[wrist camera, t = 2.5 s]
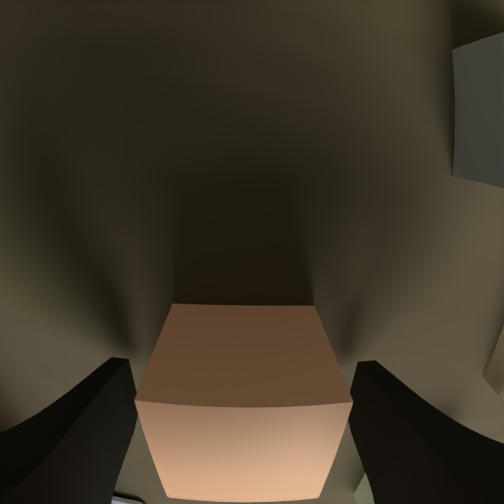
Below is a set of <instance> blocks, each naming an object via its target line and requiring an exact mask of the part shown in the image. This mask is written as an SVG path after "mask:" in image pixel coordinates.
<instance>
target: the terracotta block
mask: <svg viewBox="0 0 504 504" xmlns="http://www.w3.org/2000/svg"><path fill="white" fill-rule="evenodd" d="M134 401H135V405H136V408H137V411H138V415H139V418H140V421H141V425H142V428H143V431H144V434H145V437H146V440H147V443H148V446H149V449H150V452H151V455H152V458H153V461H154V463H155V466H156V469H157V471H158V474H159V477H160V479H161V482H162V484H163V487H164V489H165V492H166V494H167V497H171V498H180V499H190V500H202V501H219V502H273V501H290V500H303V499H313V498H318V497H319V495H320V493H321V490H322V488H323V485H324V483H325V481H326V478H327V476H328V473H329V471H330V468H331V465H332V463H333V460H334V458H335V455H336V452H337V449H338V447H339V444H340V441H341V438H342V435H343V432H344V429H345V426H346V423H347V420H348V417H349V414H350V411H351V408H352V405H353V400H352V397H351V395H350V392H349V390H348V387H347V384H346V382H345V379H344V377H343V374H342V372H341V369H340V367H339V364H338V362H337V359H336V357H335V354H334V352H333V350H332V347H331V345H330V342H329V340H328V337H327V335H326V332H325V330H324V328H323V325H322V323H321V320H320V318H319V316H318V313H317V311H316V308H315V306H243V305H199V304H172V307H171V309H170V312H169V314H168V316H167V319H166V321H165V324H164V326H163V328H162V331H161V333H160V336H159V338H158V341H157V343H156V346H155V348H154V351H153V353H152V356H151V358H150V361H149V363H148V366H147V368H146V371H145V373H144V376H143V379H142V381H141V384H140V386H139V389H138V392H137V394H136V397H135V400H134Z"/></svg>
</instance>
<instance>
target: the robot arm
mask: <svg viewBox="0 0 504 504" xmlns="http://www.w3.org/2000/svg"><path fill="white" fill-rule="evenodd" d="M136 394H137V392H136V388H135V384H134V380H133V376H132V372H131V367H130V363H129V359H123V358H114V357H111V358H110V359H108V360H107V361H106V362H104V363H103V364H102V365H101V366H100V367H98V368H97V369H96V370H95V371H93V372H92V373H91V374H90V375H89V376H87V377H86V378H85V379H84V380H82V381H81V382H80V383H79V384H77V385H76V386H75V387H74V388H72V389H71V390H70V391H69V392H67V393H66V394H65V395H63V396H62V397H60V398H59V399H58V400H56V401H55V402H54V403H52V404H51V405H49V406H48V407H47V408H45V409H44V410H42V411H41V412H39V413H37V414H36V415H34V416H33V417H31V418H29V419H27V420H25V421H24V422H22V423H20V424H18V425H16V426H14V427H12V428H10V429H8V430H5V431H3V432H1V433H0V504H143V503H142V502H139V501H135V500H130V499H125V498H120V497H116V496H113V492H114V488H115V485H116V481H117V478H118V476H119V473H120V470H121V467H122V464H123V461H124V458H125V455H126V453H127V450H128V447H129V444H130V441H131V438H132V436H133V433H134V429H135V425H136V420H137V416H138V411H137V408H136V405H135V401H134V400H135V397H136ZM350 395H351V397H352V400H353V405H352V408H351V411H350V414H349V417H348V421H349V425H350V430H351V433H352V436H353V439H354V442H355V445H356V448H357V451H358V453H359V456H360V459H361V462H362V464H363V467H364V470H365V473H366V476H367V478H368V481H369V484H370V488H371V491H372V495H373V500H374V504H504V444H503V443H500V442H497V441H495V440H493V439H490V438H488V437H486V436H483V435H481V434H479V433H477V432H475V431H473V430H471V429H469V428H467V427H465V426H463V425H462V424H460V423H458V422H456V421H454V420H453V419H451V418H450V417H448V416H446V415H445V414H443V413H442V412H441V411H439V410H438V409H436V408H435V407H433V406H432V405H430V404H429V403H428V402H426V401H425V400H424V399H422V398H421V397H420V396H418V395H417V394H416V393H415V392H413V391H412V390H411V389H410V388H408V387H407V386H406V385H405V384H404V383H402V382H401V381H400V380H399V379H397V378H396V377H395V376H394V375H393V374H391V373H390V372H389V371H388V370H387V369H385V368H384V367H383V366H382V365H381V364H379V363H378V362H377V361H375V360H373V361H362V362H358V363H357V367H356V371H355V375H354V379H353V382H352V386H351V390H350Z"/></svg>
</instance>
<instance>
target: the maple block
mask: <svg viewBox="0 0 504 504" xmlns="http://www.w3.org/2000/svg"><path fill="white" fill-rule="evenodd" d="M483 377H484V379H485V380H486V381H487V382H488V383H489V384H490V386H491V387H492V388H493V389H494V390H495V392H496V393H497V394H498V395H499V396H500V398H501V399H502V400H503V401H504V325H503V328H502V331H501V333H500V336H499V339H498V341H497V344H496V346H495V349H494V351H493V354H492V356H491V359H490V361H489V363H488V365H487V368H486V370H485V372H484V374H483Z"/></svg>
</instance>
